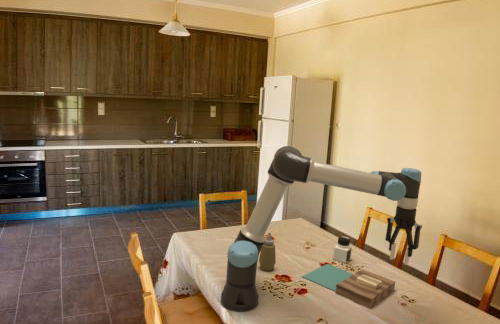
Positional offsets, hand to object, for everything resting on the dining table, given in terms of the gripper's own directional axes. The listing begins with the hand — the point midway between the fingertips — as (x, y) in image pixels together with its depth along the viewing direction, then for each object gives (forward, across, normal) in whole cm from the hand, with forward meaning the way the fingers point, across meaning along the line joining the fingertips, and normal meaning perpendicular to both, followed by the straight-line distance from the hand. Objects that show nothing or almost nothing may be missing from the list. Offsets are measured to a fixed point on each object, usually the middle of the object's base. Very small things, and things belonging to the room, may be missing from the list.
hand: (398, 260), depth 159 cm
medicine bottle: (+19, +38, -23) cm, 48 cm away
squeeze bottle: (+19, +56, +17) cm, 61 cm away
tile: (+15, +12, 0) cm, 19 cm away
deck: (+19, +12, 0) cm, 23 cm away
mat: (+19, +30, 0) cm, 35 cm away
